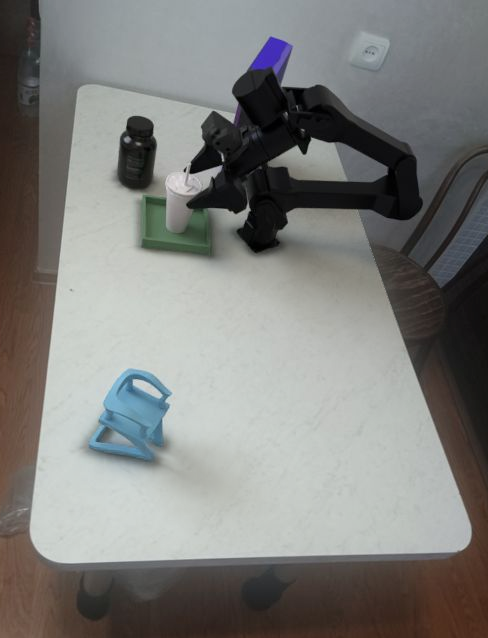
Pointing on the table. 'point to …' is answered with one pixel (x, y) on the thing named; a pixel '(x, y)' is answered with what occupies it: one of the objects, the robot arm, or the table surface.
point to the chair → (133, 415)
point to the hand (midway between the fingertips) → (185, 189)
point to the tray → (162, 238)
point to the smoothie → (180, 199)
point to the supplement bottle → (137, 153)
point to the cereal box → (270, 55)
